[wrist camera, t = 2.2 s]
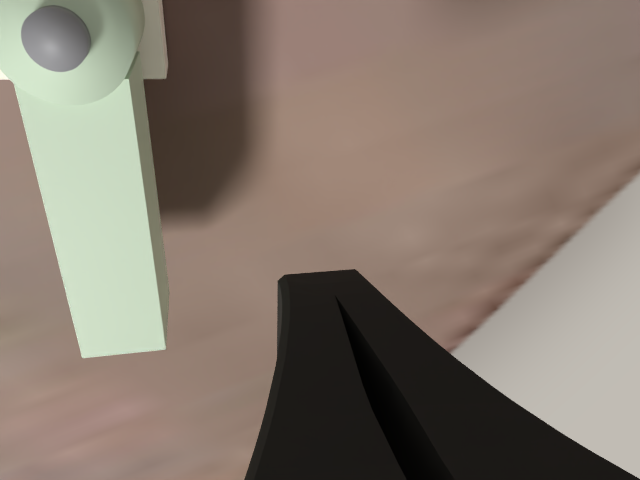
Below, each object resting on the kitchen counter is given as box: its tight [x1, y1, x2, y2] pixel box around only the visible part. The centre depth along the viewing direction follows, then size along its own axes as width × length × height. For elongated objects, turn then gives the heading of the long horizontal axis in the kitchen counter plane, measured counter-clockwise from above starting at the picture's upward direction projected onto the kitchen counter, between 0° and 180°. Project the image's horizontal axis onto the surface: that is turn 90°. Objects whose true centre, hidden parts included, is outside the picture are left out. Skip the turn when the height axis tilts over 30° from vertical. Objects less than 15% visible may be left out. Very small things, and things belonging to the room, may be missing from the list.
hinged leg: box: [0, 0, 169, 358], centre depth 12 cm, size 9×2×3 cm, turn 177°
